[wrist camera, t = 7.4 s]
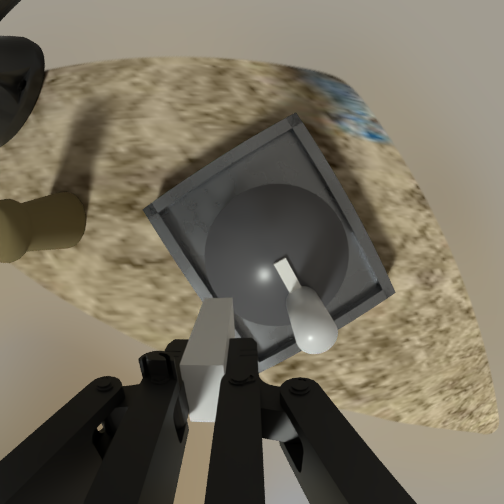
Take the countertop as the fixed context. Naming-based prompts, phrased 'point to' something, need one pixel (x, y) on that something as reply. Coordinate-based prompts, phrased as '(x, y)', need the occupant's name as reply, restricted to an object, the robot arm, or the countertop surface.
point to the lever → (280, 261)
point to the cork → (40, 225)
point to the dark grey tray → (250, 176)
